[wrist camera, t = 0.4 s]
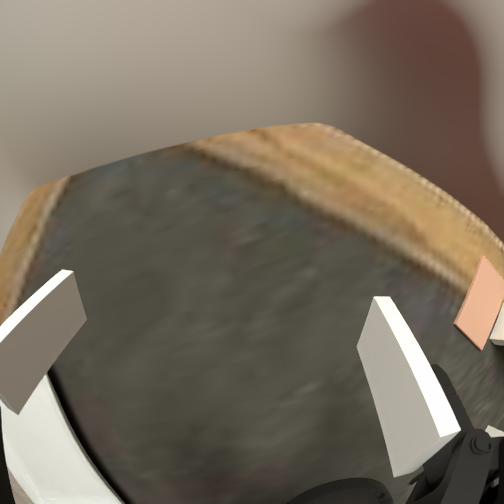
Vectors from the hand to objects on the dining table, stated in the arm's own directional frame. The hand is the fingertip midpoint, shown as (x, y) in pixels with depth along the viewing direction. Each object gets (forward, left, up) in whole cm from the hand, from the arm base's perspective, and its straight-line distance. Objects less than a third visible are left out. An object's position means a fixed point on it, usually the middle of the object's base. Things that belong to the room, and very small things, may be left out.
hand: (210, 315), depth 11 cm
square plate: (-23, +32, -16) cm, 42 cm away
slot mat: (-3, -31, -15) cm, 34 cm away
